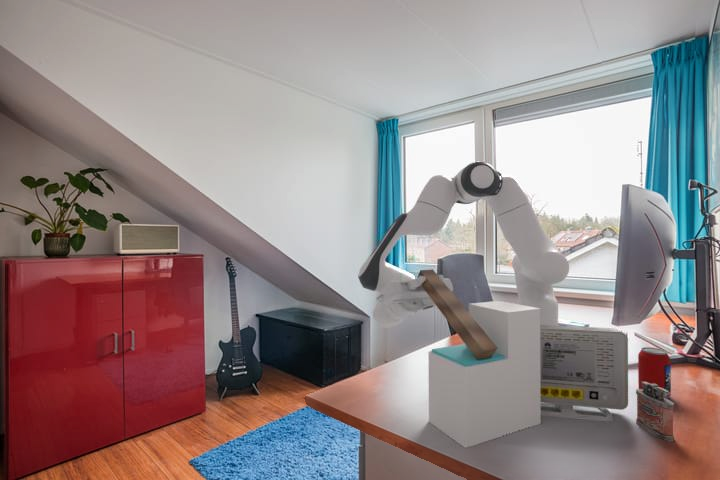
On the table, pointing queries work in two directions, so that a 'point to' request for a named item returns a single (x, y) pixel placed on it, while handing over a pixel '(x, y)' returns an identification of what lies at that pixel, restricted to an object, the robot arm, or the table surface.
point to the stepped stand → (489, 377)
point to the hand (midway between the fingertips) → (432, 278)
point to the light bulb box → (571, 323)
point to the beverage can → (654, 368)
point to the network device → (583, 370)
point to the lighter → (655, 411)
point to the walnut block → (458, 316)
